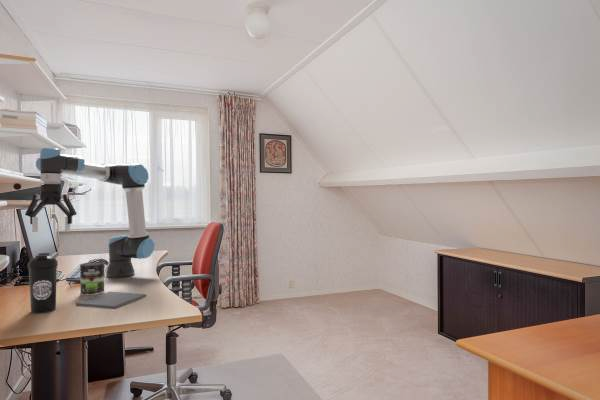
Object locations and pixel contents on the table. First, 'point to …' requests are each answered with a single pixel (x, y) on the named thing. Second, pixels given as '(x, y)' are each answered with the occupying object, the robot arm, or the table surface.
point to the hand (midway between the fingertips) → (51, 231)
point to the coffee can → (92, 278)
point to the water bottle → (42, 283)
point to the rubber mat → (111, 299)
